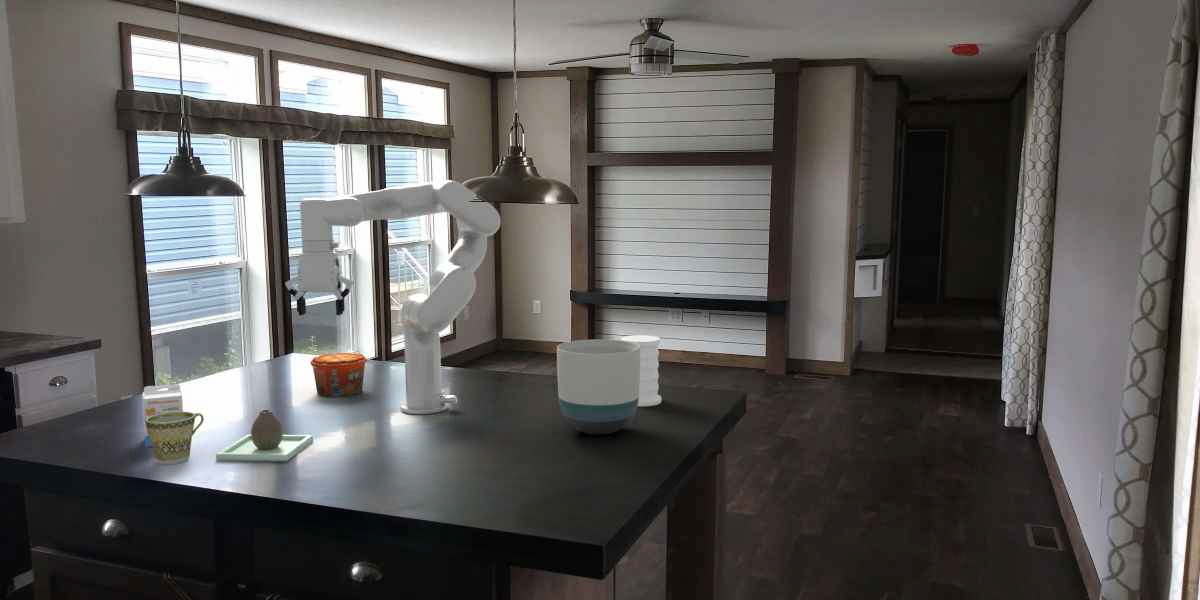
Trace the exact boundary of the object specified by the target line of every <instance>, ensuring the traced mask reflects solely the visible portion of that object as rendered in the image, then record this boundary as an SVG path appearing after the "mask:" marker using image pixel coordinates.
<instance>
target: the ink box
mask: <svg viewBox="0 0 1200 600" xmlns="http://www.w3.org/2000/svg"><path fill="white" fill-rule="evenodd" d="M161 388H163V390H160V389H161ZM158 389H159V390H158ZM164 389H165V390H164ZM183 405H184V404H183V394H182V390H181V385H180V384H179V383H176V384H166V385H165V384H163V385H148V386H144V388H143V392H142V414H143V417H142V418H143V430H144V431H143V434H144V443H145V447H146V448H150V447H152V444H151V440H150V437H149V434H148V430H147V427H146V421H145V420H146V418H148V417H150V416H152V415H156V414H160V413H166V412H184V408H183V407H184V406H183Z"/></svg>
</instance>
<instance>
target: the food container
mask: <svg viewBox="0 0 1200 600" xmlns="http://www.w3.org/2000/svg"><path fill="white" fill-rule="evenodd" d="M367 361H368V358H367V357H365V356H364V355H363V354H361V353H355V352H354V353H350V352H337V353H332V354H331V353H326V354H321V355H318V356H314V357H313V358H312V360H311V361H310V365H311V367H312V369H313V371H312V372H313V375H314V377H313V378H314V382H315V383H314V384H315V388H316V394H317V395H318V396H320V397H324V398H344V397H345V398H347V397H352V396H356V395H359V394H361V393H362V392H363V387H364V377H365V376H364V374H365V365H366V362H367Z"/></svg>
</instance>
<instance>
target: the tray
mask: <svg viewBox="0 0 1200 600" xmlns="http://www.w3.org/2000/svg"><path fill="white" fill-rule="evenodd" d="M313 441H314V435H313V434H283V437H282V441H281V443H280V444H279V445H278V446H277V447H276V448H275V449H271V450H260V449H258V448H257V447H256V446H255V445H254V443H253V441H252V438H251V433H250V434H245V435H244V436H243V437H241V438H240V439H237V440H236V441H235V442H233V443H231V444H230V445H228V446H226V447H224V448H223V449H221V450H220V451H218V452H217V453H215V459H216V461H218V462H219V461H222V462H224V461H225V462H226V461H231V462H232V461H233V462H288V461H290V460H291V459H292V458H293V457H294V456H296V455H297V454H298V453H300V452H301V451H302V450H303V449H305V448H306V447H307V446H309V445H310V444H311V443H313Z"/></svg>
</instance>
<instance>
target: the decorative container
mask: <svg viewBox="0 0 1200 600" xmlns="http://www.w3.org/2000/svg"><path fill="white" fill-rule="evenodd" d="M620 341H627V342H632V343H636V344H638V345H639V346H640V386H639V400H638V405H637V407H652V406H657V405H660V404H661V403H662V396H661V395H660V394H658V393H659V388H660V387H659V382H658V380H659V376H660V374H659V370H658V369H659V367H660V366H659V365H660V363H659V362H660V361H659V360H658V359H659V354H660V351H659V349H658V348H659V345H660V344H661V338H660V337H659V336H656V335H655V336H654V335H648V334H647V335H645V334H644V335H626V336H623V337H621V339H620Z"/></svg>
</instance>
